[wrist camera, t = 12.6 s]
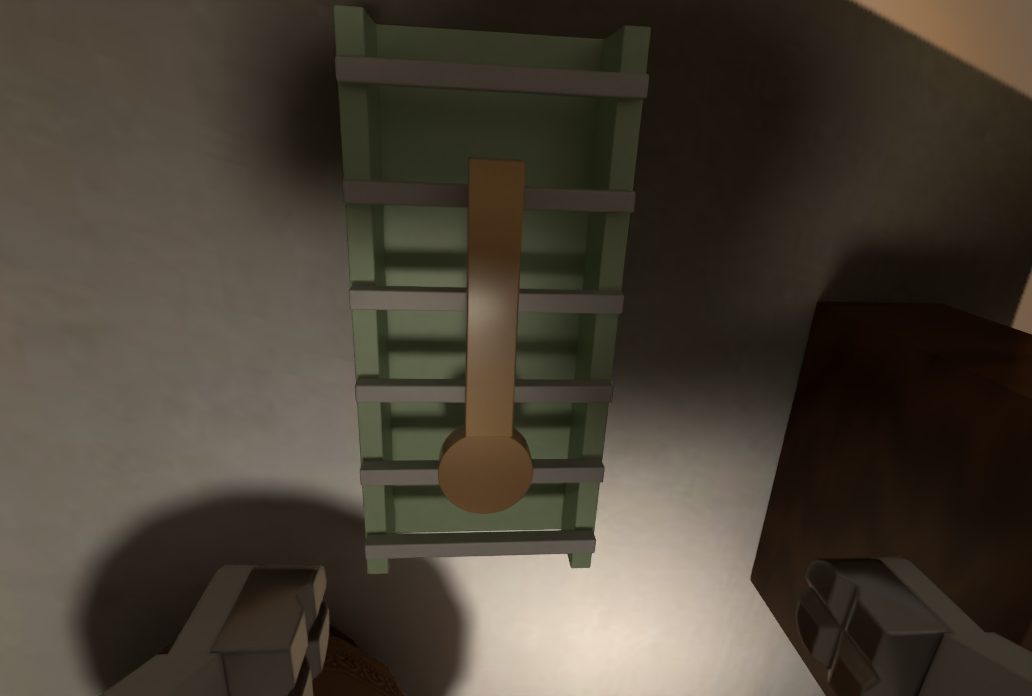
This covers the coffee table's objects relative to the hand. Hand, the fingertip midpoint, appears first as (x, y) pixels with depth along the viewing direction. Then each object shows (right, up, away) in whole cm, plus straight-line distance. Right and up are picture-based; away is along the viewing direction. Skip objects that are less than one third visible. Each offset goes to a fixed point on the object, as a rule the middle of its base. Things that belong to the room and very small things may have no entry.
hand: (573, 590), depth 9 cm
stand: (+17, -2, +23) cm, 29 cm away
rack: (-3, +6, +18) cm, 19 cm away
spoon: (-2, +4, +13) cm, 14 cm away
